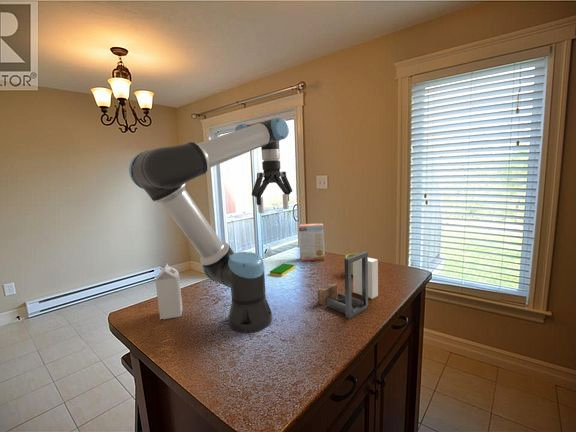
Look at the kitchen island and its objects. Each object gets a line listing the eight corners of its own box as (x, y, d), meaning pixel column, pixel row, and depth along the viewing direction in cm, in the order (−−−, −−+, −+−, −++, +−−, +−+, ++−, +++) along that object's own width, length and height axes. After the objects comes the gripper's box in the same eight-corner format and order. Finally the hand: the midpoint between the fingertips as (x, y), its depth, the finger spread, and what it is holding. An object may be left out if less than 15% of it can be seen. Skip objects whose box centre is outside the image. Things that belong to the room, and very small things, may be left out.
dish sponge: (294, 268, 151) (294, 264, 150) (281, 277, 139) (281, 273, 138) (283, 267, 154) (283, 263, 154) (269, 275, 142) (269, 271, 142)
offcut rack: (349, 319, 96) (348, 259, 93) (323, 308, 104) (321, 253, 101) (368, 307, 103) (367, 252, 100) (342, 298, 112) (341, 247, 109)
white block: (372, 298, 110) (372, 262, 108) (353, 292, 117) (352, 257, 115) (378, 295, 113) (377, 259, 110) (359, 289, 119) (358, 255, 117)
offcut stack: (323, 305, 107) (323, 290, 106) (318, 303, 109) (317, 288, 108) (337, 298, 112) (336, 284, 111) (331, 296, 114) (330, 282, 113)
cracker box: (324, 257, 166) (323, 223, 163) (324, 260, 160) (323, 224, 157) (300, 258, 168) (299, 223, 165) (300, 261, 162) (298, 225, 159)
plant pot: (369, 274, 136) (369, 257, 134) (353, 278, 132) (352, 260, 131) (357, 269, 144) (357, 252, 143) (342, 272, 141) (341, 255, 140)
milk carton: (160, 320, 101) (153, 270, 99) (163, 311, 108) (157, 264, 105) (180, 316, 103) (175, 267, 100) (182, 308, 110) (177, 261, 107)
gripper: (287, 160, 128) (289, 207, 131) (240, 161, 112) (244, 213, 115) (298, 159, 123) (300, 207, 126) (251, 159, 106) (255, 215, 109)
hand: (273, 210), depth 120 cm, fingers open, 13 cm apart
